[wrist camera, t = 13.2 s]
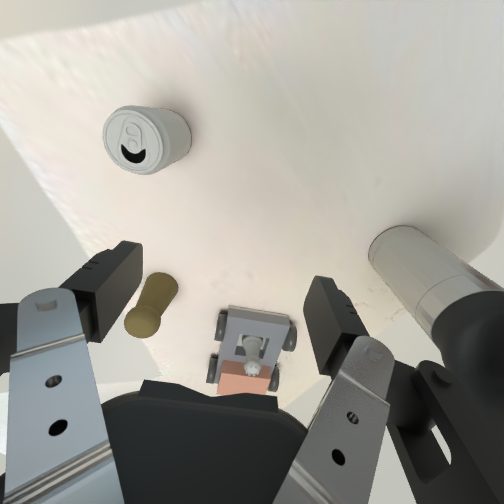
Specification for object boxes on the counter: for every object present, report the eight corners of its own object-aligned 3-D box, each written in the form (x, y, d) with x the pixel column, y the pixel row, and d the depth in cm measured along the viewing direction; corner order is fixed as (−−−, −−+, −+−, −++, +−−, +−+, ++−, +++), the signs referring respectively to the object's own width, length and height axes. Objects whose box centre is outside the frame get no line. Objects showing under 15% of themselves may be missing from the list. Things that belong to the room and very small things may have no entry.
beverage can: (146, 155, 36) (100, 171, 25) (145, 104, 33) (94, 97, 22) (190, 164, 36) (165, 183, 26) (194, 114, 33) (167, 113, 23)
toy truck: (295, 316, 50) (301, 339, 45) (271, 378, 59) (273, 404, 54) (220, 304, 48) (217, 327, 43) (208, 369, 58) (203, 395, 52)
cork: (183, 294, 47) (165, 340, 38) (154, 301, 48) (130, 348, 39) (169, 268, 45) (146, 310, 35) (139, 276, 46) (109, 319, 36)
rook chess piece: (251, 326, 50) (251, 360, 43) (267, 336, 52) (269, 371, 45) (237, 338, 52) (235, 372, 45) (253, 347, 53) (253, 382, 46)
